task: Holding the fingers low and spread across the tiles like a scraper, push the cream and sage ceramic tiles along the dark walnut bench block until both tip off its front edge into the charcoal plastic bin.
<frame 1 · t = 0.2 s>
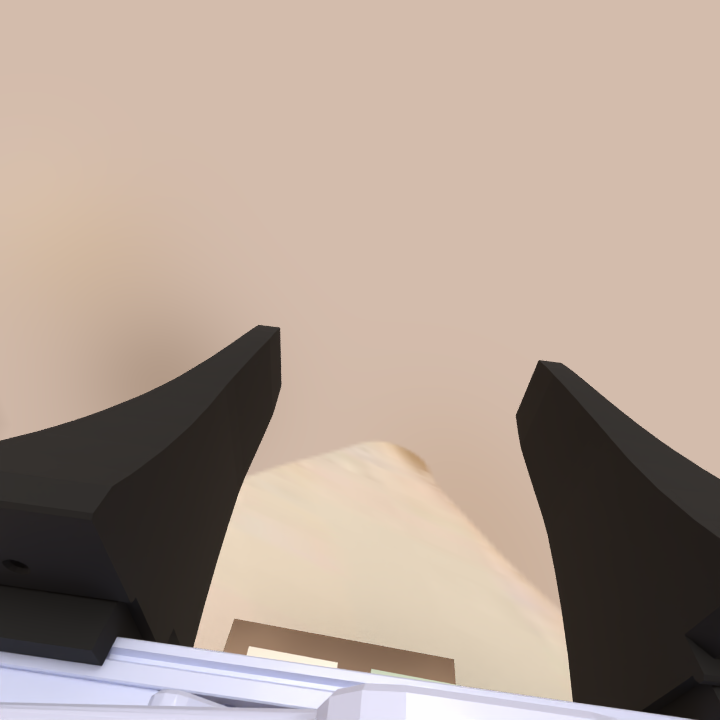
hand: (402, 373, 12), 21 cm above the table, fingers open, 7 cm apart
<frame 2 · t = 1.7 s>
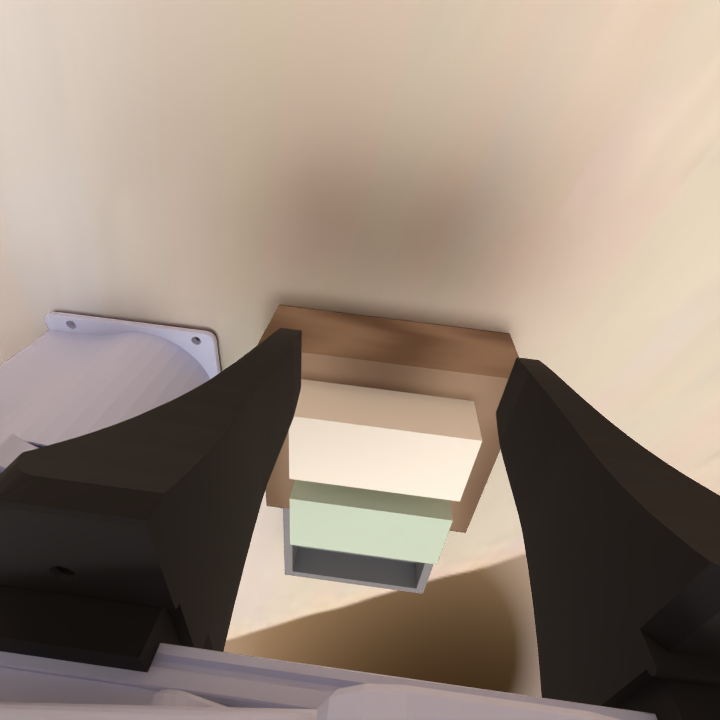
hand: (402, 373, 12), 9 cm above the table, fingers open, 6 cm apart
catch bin: (362, 515, 31), on the table
sage tile: (370, 492, 23), point 4 cm above the table, touching bench block
bench block: (380, 403, 25), on the table
cream tile: (381, 421, 20), point 4 cm above the table, touching bench block
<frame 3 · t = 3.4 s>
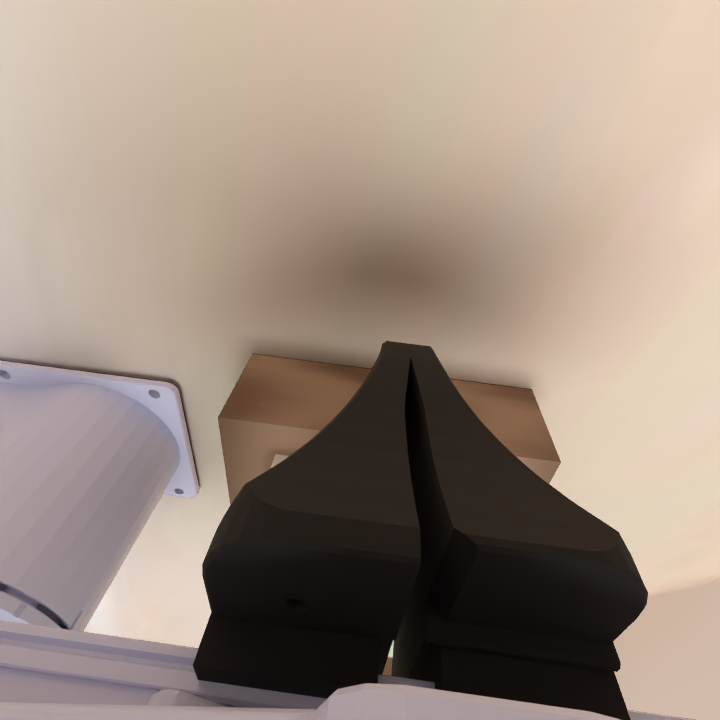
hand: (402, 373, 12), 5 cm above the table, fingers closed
bench block: (375, 462, 21), on the table
cream tile: (376, 501, 16), point 4 cm above the table, touching bench block
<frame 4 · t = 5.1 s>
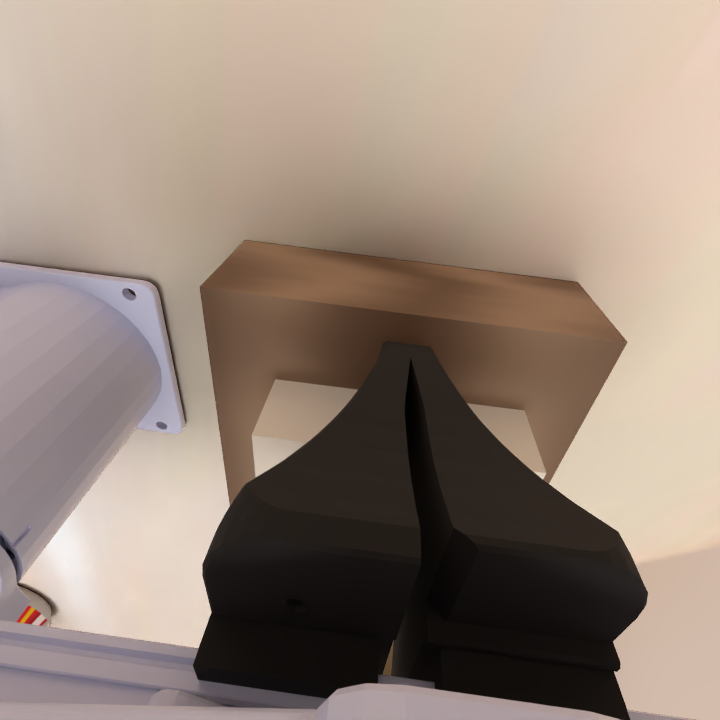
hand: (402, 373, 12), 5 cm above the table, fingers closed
soda can: (16, 595, 34), on the table
bench block: (388, 386, 18), on the table
cream tile: (390, 438, 14), point 4 cm above the table, touching bench block
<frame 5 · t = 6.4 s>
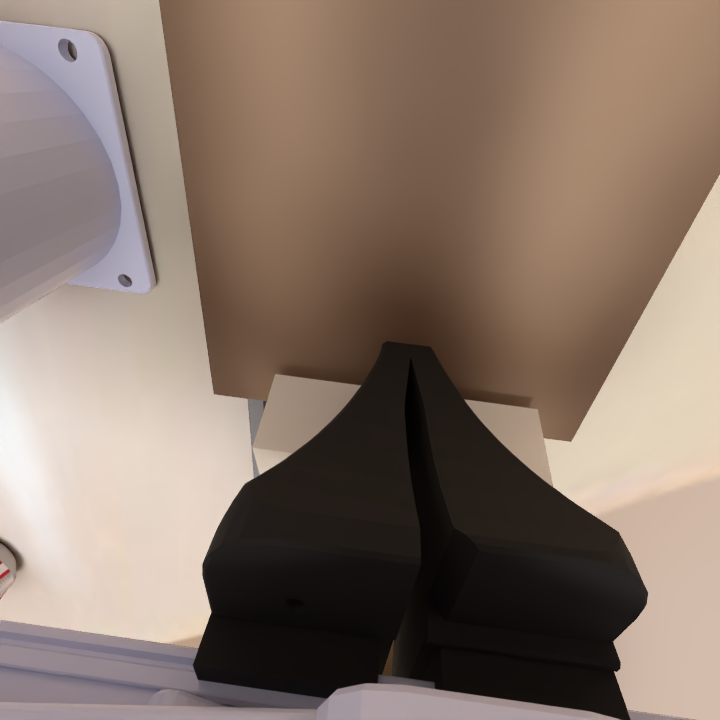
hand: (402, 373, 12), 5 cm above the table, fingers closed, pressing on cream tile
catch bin: (377, 444, 20), on the table
bench block: (418, 209, 14), on the table
cream tile: (396, 425, 14), point 4 cm above the table, tilted 15°, touching gripper, sage tile
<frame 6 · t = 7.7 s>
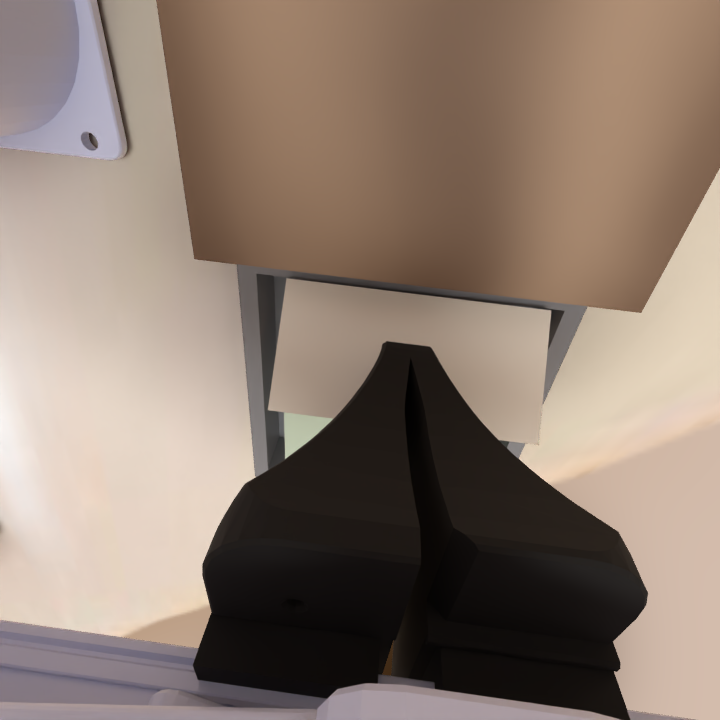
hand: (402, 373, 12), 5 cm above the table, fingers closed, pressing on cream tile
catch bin: (391, 365, 17), on the table
sage tile: (387, 440, 16), point 3 cm above the table, tilted 180°, touching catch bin, cream tile
bench block: (447, 25, 11), on the table
cream tile: (402, 365, 15), point 2 cm above the table, tilted 39°, touching gripper, sage tile
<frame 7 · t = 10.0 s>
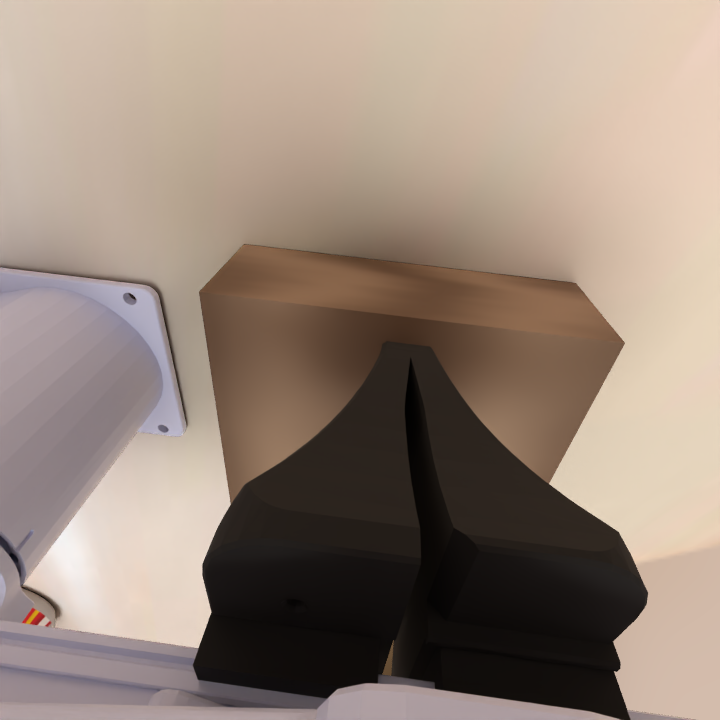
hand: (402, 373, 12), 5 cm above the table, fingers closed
soda can: (20, 598, 35), on the table
bench block: (388, 387, 18), on the table
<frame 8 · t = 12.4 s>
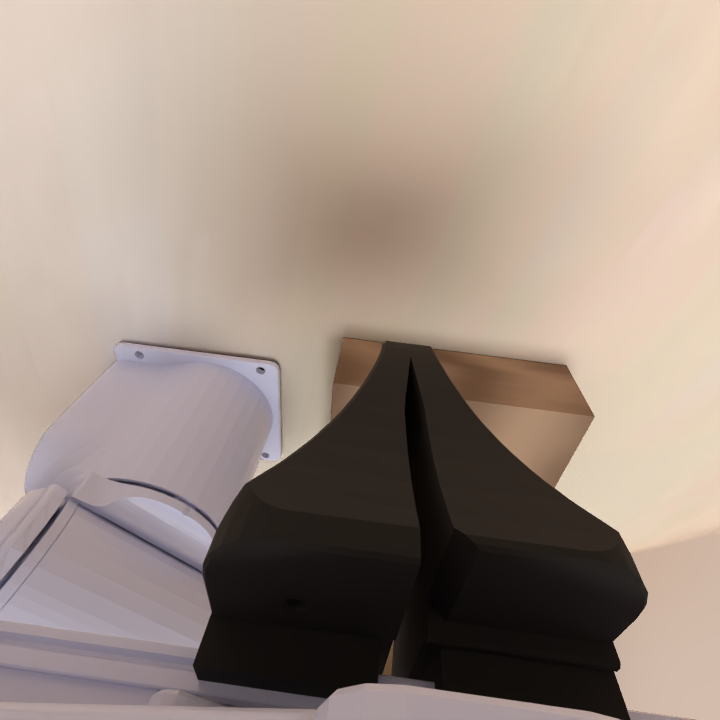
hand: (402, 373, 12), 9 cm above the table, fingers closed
bench block: (433, 428, 25), on the table
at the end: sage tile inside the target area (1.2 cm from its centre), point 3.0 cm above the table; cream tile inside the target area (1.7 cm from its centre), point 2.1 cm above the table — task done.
